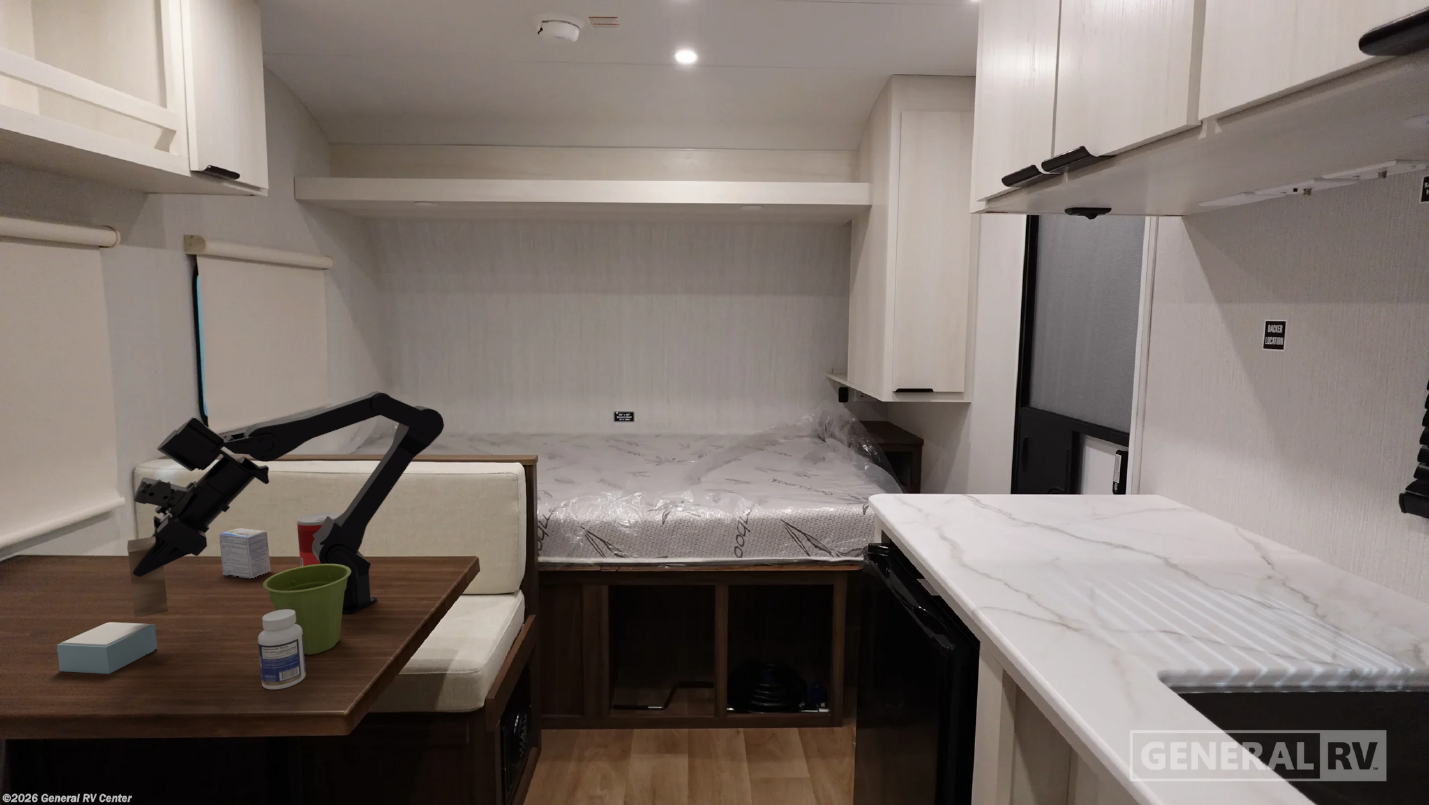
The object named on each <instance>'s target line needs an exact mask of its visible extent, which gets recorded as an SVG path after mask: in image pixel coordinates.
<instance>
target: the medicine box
mask: <svg viewBox="0 0 1429 805" xmlns="http://www.w3.org/2000/svg"><path fill="white" fill-rule="evenodd" d="M219 546H220V547H219V548H220V557H221V558H220V559H221V568H222V575H223V576H228V575H233V576H232V577H236V576H239V577H238V578H244V579H251V578H253V579H255V577H256V578H258V577H257V576H259V575H261V576H263V574H264V575H266V574H269V573H271V562H270V551H269V541H268V532H267V531H266V530H259V529H252V528H249V529H248V528H241V527H240V528H239V527H238V528H235V529H231V530H227V531H224V532H222V533H219ZM268 572H269V573H268ZM265 573H266V574H265ZM259 577H260V576H259Z"/></svg>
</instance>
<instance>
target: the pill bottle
mask: <svg viewBox="0 0 1429 805" xmlns="http://www.w3.org/2000/svg"><path fill="white" fill-rule="evenodd" d="M295 622H296V614H295V611H294V610H290V609H283V610H277V611H275V610H273V611H271V612H267V613H266V614H264V615H263V616H262V628H263V630H262V631H261V632H260V633H259V635H258V636H257V643H258V644H257V645H258V654H259V655H258V657H259V658H258V659H259V667H260V679H261V684H262V687H263V688H265V689H268V690H280V689H286V688H291V687H293V686H295V685H298V684H299V683H300V682H302V681H303V680H304V679H305V677H306V674H307V673H306V672H307V671H306V660H305V658H306V657H305V654H304V644H303V632H302V628H301V627H300V626H299V625H297V624H294V623H295Z"/></svg>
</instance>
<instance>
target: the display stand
mask: <svg viewBox="0 0 1429 805" xmlns="http://www.w3.org/2000/svg"><path fill="white" fill-rule="evenodd" d="M56 648H57V659H58V666H59V671H60V672H68V673H69V672H71V673H72V672H73V673H88V674H90V673H91V674H104V675H105V674H106V675H109V674H111V673H114V672H115V671H117V670H119V669H121V668H124V667H125V666H127V665H129V664H131V663H133V662H135V661H137V660H139V659H140V658H144V657H145V656H147V655H149V654H151V653H152V652H155V651H156V650H155V649H157V650H158V645H157V632H156V625H155V624H154V623H136V622H135V623H134V622H114V621H112V622H111V621H110V622H106V623H103V624H101V625H99V626H96V627H94V628H92V629H89V630H87V631H85V632H82V633H80V634H78V635H75V636H74V637H71V638H69V639H67V640H65V641H64V640H63V641H62V642H60V643H57V644H56ZM154 650H155V651H154ZM146 654H147V655H146Z"/></svg>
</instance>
